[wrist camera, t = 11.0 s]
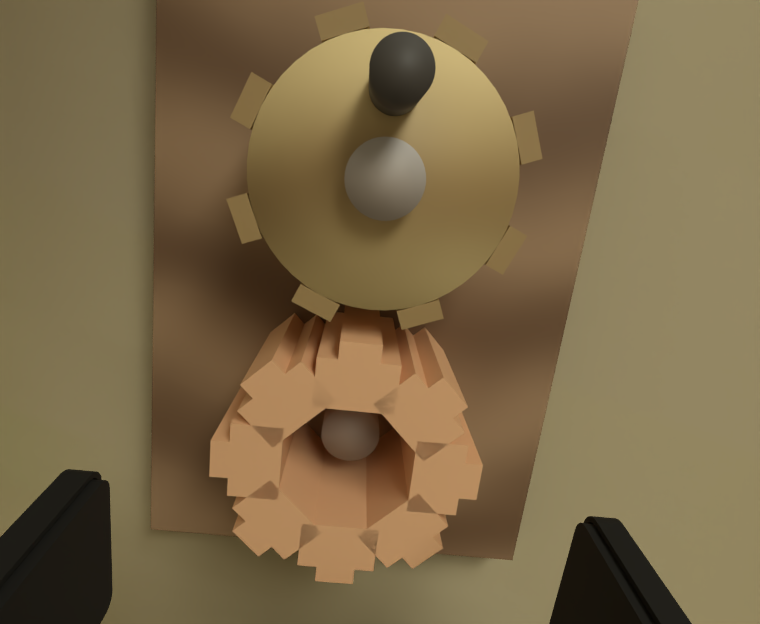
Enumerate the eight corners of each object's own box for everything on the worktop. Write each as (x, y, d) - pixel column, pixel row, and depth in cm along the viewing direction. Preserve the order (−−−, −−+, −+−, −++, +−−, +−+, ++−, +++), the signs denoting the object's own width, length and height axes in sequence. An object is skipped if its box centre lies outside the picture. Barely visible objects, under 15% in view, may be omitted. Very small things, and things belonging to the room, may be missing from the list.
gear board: (176, -57, 16) (-16, -286, 8) (616, 9, 17) (846, -138, 9) (165, 504, 21) (42, 711, 13) (502, 534, 22) (582, 746, 14)
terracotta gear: (252, 288, 17) (214, 327, 13) (470, 312, 18) (503, 357, 14) (241, 482, 19) (205, 572, 15) (438, 499, 20) (458, 592, 16)
